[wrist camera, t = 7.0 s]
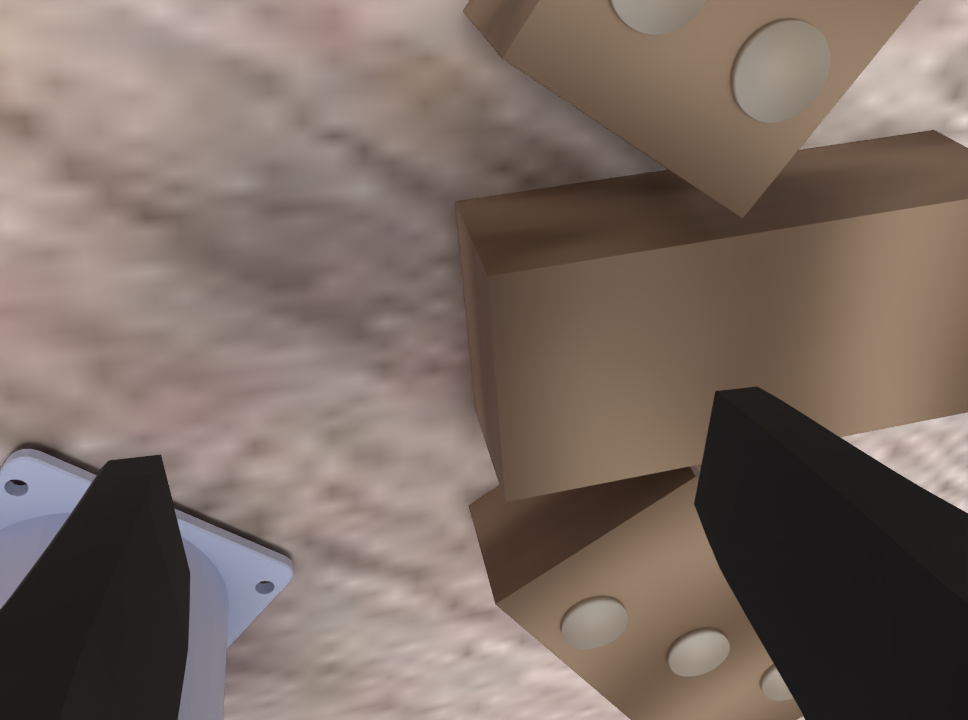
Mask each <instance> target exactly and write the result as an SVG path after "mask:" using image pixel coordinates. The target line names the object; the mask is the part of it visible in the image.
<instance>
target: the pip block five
mask: <svg viewBox="0 0 968 720" xmlns="http://www.w3.org/2000/svg"><path fill="white" fill-rule="evenodd" d="M919 1H920V0H469V2H468V4H467V5H466V7H465V9H464V10H463V11H464V12H465V14H466V15H467V16H468V17H469V19H470V20H471V21H472V22H473V23H474V25H475V26H476V27H477V28H478V30H479V31H480V32H481V33H482V34H483V36H484V37H485V38H486V39H487V41H488V42H489V43H490V44H491V45H492V47H493V48H494V49H495V50H496V52H497V53H498V54H499V55H500V56H501V58H502V59H504V60H505V61H507V62H508V63H510V64H511V65H513V66H514V67H516V68H517V69H519V70H520V71H522V72H523V73H525V74H526V75H528V76H529V77H531V78H532V79H534V80H535V81H537V82H538V83H540V84H541V85H543V86H544V87H546V88H547V89H549V90H550V91H552V92H553V93H555V94H556V95H558V96H559V97H561V98H562V99H564V100H565V101H567V102H568V103H570V104H571V105H573V106H574V107H576V108H577V109H579V110H580V111H582V112H583V113H585V114H586V115H588V116H589V117H591V118H592V119H594V120H595V121H597V122H598V123H600V124H601V125H603V126H604V127H606V128H607V129H609V130H610V131H612V132H613V133H615V134H616V135H618V136H619V137H621V138H622V139H624V140H626V141H627V142H629V143H630V144H632V145H633V146H635V147H636V148H638V149H639V150H641V151H642V152H644V153H645V154H647V155H648V156H650V157H651V158H653V159H654V160H656V161H657V162H659V163H660V164H662V165H663V166H665V167H666V168H668V169H669V170H671V171H672V172H674V173H675V174H677V175H678V176H680V177H681V178H683V179H684V180H686V181H687V182H689V183H690V184H692V185H693V186H695V187H696V188H698V189H699V190H701V191H702V192H704V193H705V194H707V195H708V196H710V197H711V198H713V199H714V200H716V201H717V202H719V203H720V204H722V205H723V206H725V207H726V208H728V209H729V210H731V211H732V212H734V213H735V214H737V215H738V216H740V217H741V218H743V217H744V216H745V215H746V214H747V212H748V211H749V210H750V209H751V208H752V206H753V205H754V204H755V203H756V201H757V200H758V199H759V198H760V196H761V195H762V194H763V193H764V192H765V190H766V189H767V188H768V187H769V185H770V184H771V183H772V182H773V181H774V179H775V178H776V177H777V176H778V174H779V173H780V172H781V171H782V169H783V168H784V167H785V166H786V165H787V163H788V162H789V161H790V160H791V158H792V157H793V156H794V155H795V153H796V152H797V151H798V150H799V149H800V147H801V146H802V145H803V144H804V142H805V141H806V140H807V139H808V138H809V136H810V135H811V134H812V133H813V131H814V130H815V129H816V128H817V126H818V125H819V124H820V123H821V122H822V120H823V119H824V118H825V117H826V115H827V114H828V113H829V112H830V111H831V109H832V108H833V107H834V106H835V104H836V103H837V102H838V101H839V99H840V98H841V97H842V96H843V95H844V93H845V92H846V91H847V90H848V88H849V87H850V86H851V85H852V83H853V82H854V81H855V80H856V79H857V77H858V76H859V75H860V74H861V72H862V71H863V70H864V69H865V68H866V66H867V65H868V64H869V63H870V61H871V60H872V59H873V58H874V56H875V55H876V54H877V53H878V52H879V50H880V49H881V48H882V47H883V45H884V44H885V43H886V42H887V40H888V39H889V38H890V37H891V36H892V34H893V33H894V32H895V31H896V29H897V28H898V27H899V26H900V25H901V23H902V22H903V21H904V20H905V18H906V17H907V16H908V15H909V13H910V12H911V11H912V10H913V9H914V7H915V6H916V5H917V4H918V2H919Z"/></svg>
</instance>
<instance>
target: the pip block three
mask: <svg viewBox="0 0 968 720" xmlns="http://www.w3.org/2000/svg"><path fill="white" fill-rule="evenodd" d="M700 469H701V464H699V465H694V466H689V467H684V468H679V469H674V470H669V471H663V472H658V473H653V474H648V475H643V476H638V477H633V478H627V479H622V480H617V481H612V482H607V483H602V484H597V485H592V486H586V487H581V488H576V489H571V490H566V491H561V492H556V493H550V494H545V495H540V496H535V497H530V498H525V499H520V500H515V501H509V502H505V499H504V496H503V493H502V490H501V487H500V485H499V486H497V487H496V488H494V489H493V490H491V491H490V492H488V493H487V494H485V495H484V496H482V497H481V498H479V499H478V500H476V501H475V502H473V503H472V504H471V505H469V508H470V512H471V515H472V519H473V523H474V526H475V530H476V534H477V538H478V541H479V545H480V549H481V552H482V556H483V560H484V563H485V567H486V571H487V574H488V578H489V582H490V585H491V589H492V593H493V596H494V600H495V604H496V605H497V606H498V607H499V608H501V609H502V610H503V611H504V612H505V613H506V614H508V615H509V616H510V617H511V618H512V619H514V620H515V621H516V622H517V623H518V624H519V625H521V626H522V627H523V628H524V629H525V630H526V631H528V632H529V633H530V634H531V635H532V636H533V637H535V638H536V639H537V640H538V641H539V642H540V643H542V644H543V645H544V646H545V647H546V648H548V649H549V650H550V651H551V652H552V653H553V654H555V655H556V656H557V657H558V658H559V659H560V660H562V661H563V662H564V663H565V664H566V665H567V666H569V667H570V668H571V669H572V670H573V671H574V672H576V673H577V674H578V675H579V676H580V677H582V678H583V679H584V680H585V681H586V682H587V683H589V684H590V685H591V686H592V687H593V688H594V689H596V690H597V691H598V692H599V693H600V694H601V695H603V696H604V697H605V698H606V699H607V700H608V701H610V702H611V703H612V704H613V705H614V706H616V707H617V708H618V709H619V710H620V711H621V712H623V713H624V714H625V715H626V716H627V717H628V718H630V719H631V720H797V719H799V718H800V717H802V716H803V714H802V712H801V710H800V708H799V707H798V705H797V703H796V701H795V700H794V698H793V696H792V695H791V693H790V691H789V689H788V688H787V686H786V684H785V682H784V681H783V679H782V677H781V675H780V674H779V672H778V670H777V668H776V667H775V665H774V663H773V662H772V660H771V658H770V656H769V655H768V653H767V651H766V649H765V648H764V646H763V644H762V642H761V641H760V639H759V637H758V636H757V634H756V632H755V630H754V629H753V627H752V625H751V623H750V622H749V620H748V618H747V616H746V615H745V613H744V611H743V609H742V608H741V606H740V604H739V602H738V600H737V599H736V597H735V595H734V593H733V592H732V590H731V588H730V586H729V584H728V583H727V581H726V579H725V577H724V575H723V573H722V572H721V570H720V568H719V565H718V563H717V561H716V558H715V556H714V554H713V551H712V549H711V547H710V544H709V542H708V539H707V537H706V534H705V532H704V529H703V526H702V524H701V521H700V519H699V516H698V513H697V511H696V508H695V506H694V501H695V496H696V491H697V485H698V480H699V475H700Z"/></svg>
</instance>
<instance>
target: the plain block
mask: <svg viewBox="0 0 968 720" xmlns="http://www.w3.org/2000/svg"><path fill="white" fill-rule="evenodd" d="M455 205H456V216H457V226H458V236H459V247H460V257H461V268H462V278H463V289H464V299H465V310H466V320H467V331H468V341H469V351H470V362H471V372H472V383H473V393H474V404H475V411H476V414H477V417H478V420H479V423H480V426H481V429H482V432H483V435H484V438H485V441H486V444H487V447H488V450H489V454H490V457H491V460H492V463H493V466H494V469H495V472H496V475H497V478H498V481H499V484H500V487H501V490H502V493H503V496H504V499H505V502H509V501H515V500H520V499H525V498H530V497H535V496H540V495H545V494H550V493H556V492H561V491H566V490H571V489H576V488H581V487H586V486H592V485H597V484H602V483H607V482H612V481H617V480H622V479H627V478H633V477H638V476H643V475H648V474H653V473H658V472H663V471H669V470H674V469H679V468H684V467H689V466H694V465H699V464H702V459H703V454H704V448H705V443H706V438H707V432H708V427H709V422H710V417H711V411H712V406H713V401H714V395H715V391H721V390H730V389H739V388H747V387H756V386H757V387H759V388H761V389H763V390H765V391H767V392H768V393H770V394H772V395H774V396H775V397H777V398H779V399H780V400H782V401H784V402H785V403H787V404H788V405H790V406H792V407H793V408H795V409H796V410H798V411H800V412H801V413H803V414H804V415H806V416H807V417H809V418H811V419H812V420H814V421H815V422H817V423H818V424H820V425H822V426H823V427H825V428H826V429H828V430H829V431H831V432H832V433H834V434H836V435H837V436H839V437H843V436H848V435H853V434H858V433H863V432H869V431H874V430H879V429H884V428H889V427H894V426H899V425H905V424H910V423H915V422H920V421H925V420H930V419H935V418H940V417H946V416H951V415H956V414H961V413H966V412H968V148H967V147H965V146H963V145H961V144H959V143H957V142H955V141H953V140H952V139H950V138H948V137H946V136H944V135H942V134H940V133H938V132H937V131H935V130H931V131H924V132H918V133H911V134H904V135H898V136H891V137H884V138H878V139H871V140H864V141H857V142H851V143H844V144H837V145H831V146H824V147H817V148H811V149H804V150H798V151H797V152H796V153H795V155H794V156H793V157H792V158H791V160H790V161H789V162H788V163H787V165H786V166H785V167H784V168H783V169H782V171H781V172H780V173H779V174H778V176H777V177H776V178H775V179H774V181H773V182H772V183H771V184H770V185H769V187H768V188H767V189H766V190H765V192H764V193H763V194H762V195H761V196H760V198H759V199H758V200H757V201H756V203H755V204H754V205H753V206H752V208H751V209H750V210H749V211H748V212H747V214H746V215H745V216H744V217H743V218H741V217H740V216H738V215H737V214H735V213H734V212H732V211H731V210H729V209H728V208H726V207H725V206H723V205H722V204H720V203H719V202H717V201H716V200H714V199H713V198H711V197H710V196H708V195H707V194H705V193H704V192H702V191H701V190H699V189H698V188H696V187H695V186H693V185H692V184H690V183H689V182H687V181H686V180H684V179H683V178H681V177H680V176H678V175H677V174H675V173H674V172H672V171H671V170H663V171H657V172H650V173H643V174H637V175H630V176H623V177H617V178H610V179H603V180H596V181H590V182H583V183H576V184H570V185H563V186H556V187H550V188H543V189H536V190H530V191H523V192H516V193H509V194H503V195H496V196H489V197H483V198H476V199H469V200H463V201H456V202H455Z"/></svg>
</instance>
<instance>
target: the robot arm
mask: <svg viewBox="0 0 968 720" xmlns="http://www.w3.org/2000/svg"><path fill="white" fill-rule="evenodd" d="M14 479H17V480H22V481H23V482H25V483H26V484H27V485H16V484H14V483H12V482H11V481H10V480H14ZM694 506H695V508H696V511H697V513H698V516H699V519H700V521H701V524H702V526H703V529H704V532H705V534H706V537H707V539H708V542H709V544H710V547H711V549H712V551H713V554H714V556H715V558H716V561H717V563H718V565H719V568H720V570H721V572H722V573H723V575H724V577H725V579H726V581H727V583H728V584H729V586H730V588H731V590H732V592H733V593H734V595H735V597H736V599H737V600H738V602H739V604H740V606H741V608H742V609H743V611H744V613H745V615H746V616H747V618H748V620H749V622H750V623H751V625H752V627H753V629H754V630H755V632H756V634H757V636H758V637H759V639H760V641H761V642H762V644H763V646H764V648H765V649H766V651H767V653H768V655H769V656H770V658H771V660H772V662H773V663H774V665H775V667H776V668H777V670H778V672H779V674H780V675H781V677H782V679H783V681H784V682H785V684H786V686H787V688H788V689H789V691H790V693H791V695H792V696H793V698H794V700H795V701H796V703H797V705H798V707H799V708H800V710H801V712H802V714H803V716H804V718H805V720H968V513H966V512H964V511H963V510H961V509H959V508H957V507H955V506H954V505H952V504H950V503H948V502H946V501H945V500H943V499H941V498H939V497H937V496H936V495H934V494H932V493H930V492H928V491H927V490H925V489H923V488H922V487H920V486H918V485H917V484H915V483H913V482H911V481H910V480H908V479H906V478H905V477H903V476H901V475H900V474H898V473H896V472H895V471H893V470H891V469H890V468H888V467H887V466H885V465H883V464H882V463H880V462H878V461H877V460H875V459H874V458H872V457H870V456H869V455H867V454H866V453H864V452H862V451H861V450H859V449H858V448H856V447H854V446H853V445H851V444H850V443H848V442H847V441H845V440H843V439H842V438H840V437H839V436H837V435H836V434H834V433H832V432H831V431H829V430H828V429H826V428H825V427H823V426H822V425H820V424H818V423H817V422H815V421H814V420H812V419H811V418H809V417H807V416H806V415H804V414H803V413H801V412H800V411H798V410H796V409H795V408H793V407H792V406H790V405H788V404H787V403H785V402H784V401H782V400H780V399H779V398H777V397H775V396H774V395H772V394H770V393H768V392H767V391H765V390H763V389H761V388H759V387H757V386H756V387H747V388H739V389H730V390H721V391H715V395H714V401H713V406H712V411H711V417H710V422H709V427H708V432H707V438H706V443H705V448H704V454H703V459H702V464H701V469H700V475H699V480H698V485H697V491H696V496H695V501H694ZM292 578H293V563H292V561H291V560H290V559H289V558H288V557H286V556H284V555H282V554H280V553H277V552H275V551H273V550H270V549H268V548H266V547H263V546H261V545H259V544H256V543H254V542H252V541H249V540H247V539H244V538H242V537H240V536H237V535H235V534H233V533H230V532H228V531H226V530H223V529H221V528H219V527H216V526H214V525H212V524H209V523H207V522H205V521H202V520H200V519H198V518H195V517H193V516H191V515H188V514H186V513H184V512H181V511H179V510H177V509H174V505H173V501H172V497H171V493H170V489H169V485H168V481H167V477H166V473H165V469H164V465H163V461H162V457H161V455H154V456H145V457H136V458H127V459H119V460H110V461H108V462H107V463H106V464H105V465H104V466H103V467H102V468H101V470H100V471H99V473H98V474H97V475H95V474H92V473H90V472H88V471H85V470H83V469H81V468H78V467H76V466H74V465H71V464H69V463H67V462H64V461H62V460H60V459H57V458H55V457H53V456H50V455H48V454H46V453H43V452H41V451H38V450H34V449H21V450H18V451H15V452H14V453H13V454H11V455H10V456H9V457H8V459H7V460H6V461H5V463H4V464H3V466H2V467H1V468H0V720H223V716H224V695H225V674H226V653H227V648H228V647H229V646H230V645H231V644H232V643H233V642H234V641H235V640H236V639H237V638H238V637H239V635H240V634H241V633H242V632H243V631H244V630H245V629H246V628H247V627H248V626H249V625H250V624H251V623H252V622H253V621H254V619H255V618H256V617H257V616H258V615H259V614H260V613H261V612H262V611H263V610H264V609H265V608H266V607H267V606H268V605H269V603H270V602H271V601H272V600H273V599H274V598H275V597H276V596H277V595H278V594H279V593H280V592H281V591H282V590H283V589H284V587H285V586H286V585H287V584H288V583H289V582H290V581H291V579H292ZM261 581H270V583H265V584H263V583H259V582H261Z"/></svg>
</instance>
